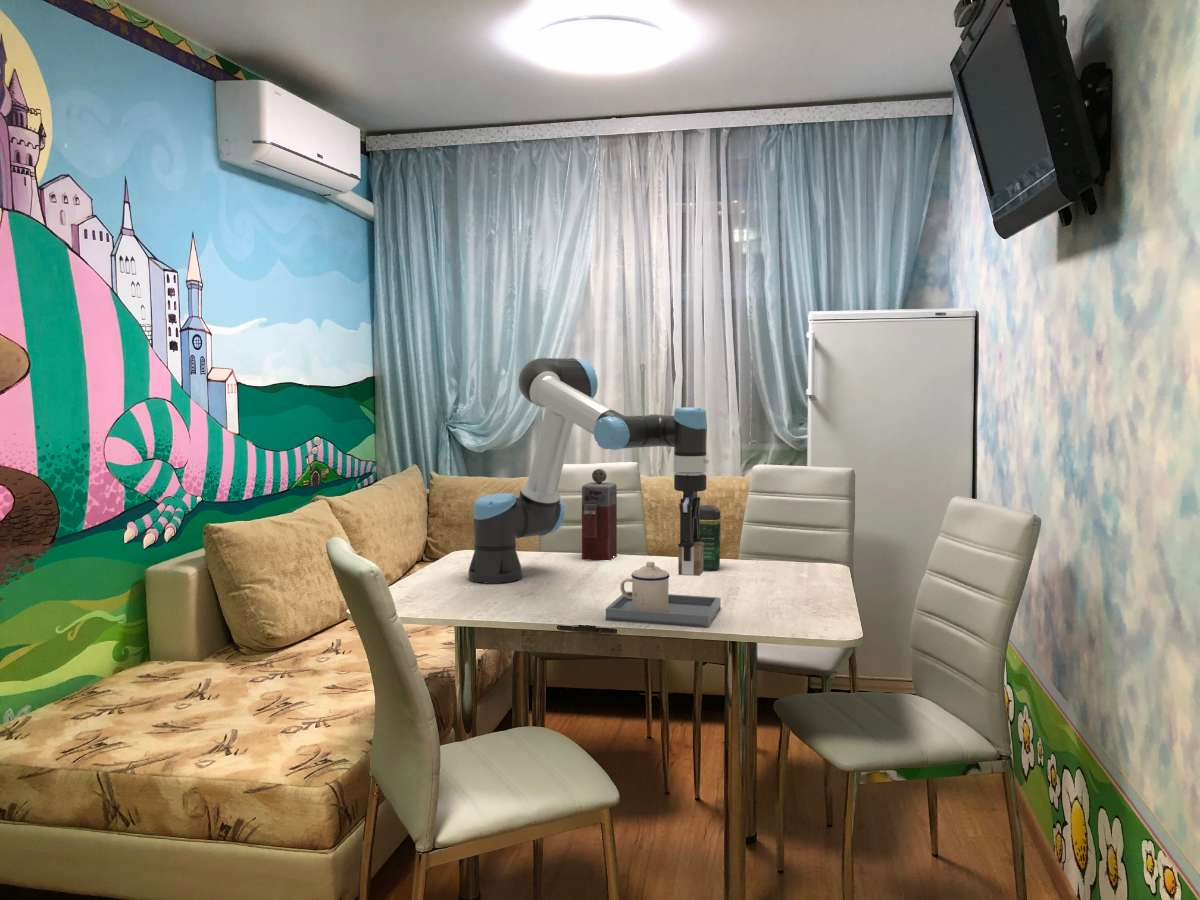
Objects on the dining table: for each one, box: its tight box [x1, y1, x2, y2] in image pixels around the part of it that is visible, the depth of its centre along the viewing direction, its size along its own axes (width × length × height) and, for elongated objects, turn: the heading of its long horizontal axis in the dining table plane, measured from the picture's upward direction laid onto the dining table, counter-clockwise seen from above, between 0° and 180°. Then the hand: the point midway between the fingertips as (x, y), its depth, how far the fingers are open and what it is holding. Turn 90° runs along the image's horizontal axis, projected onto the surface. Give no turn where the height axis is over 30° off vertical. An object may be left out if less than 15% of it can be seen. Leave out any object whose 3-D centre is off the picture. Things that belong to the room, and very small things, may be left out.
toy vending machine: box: [581, 468, 618, 561], centre depth 278 cm, size 9×11×28 cm
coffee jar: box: [699, 504, 722, 571], centre depth 264 cm, size 10×8×19 cm
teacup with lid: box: [619, 561, 670, 612], centre depth 213 cm, size 12×9×12 cm
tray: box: [605, 590, 721, 628], centre depth 212 cm, size 24×18×3 cm
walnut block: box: [677, 542, 704, 577], centre depth 209 cm, size 5×5×7 cm
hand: (690, 571), depth 210 cm, fingers closed on walnut block, 5 cm apart
